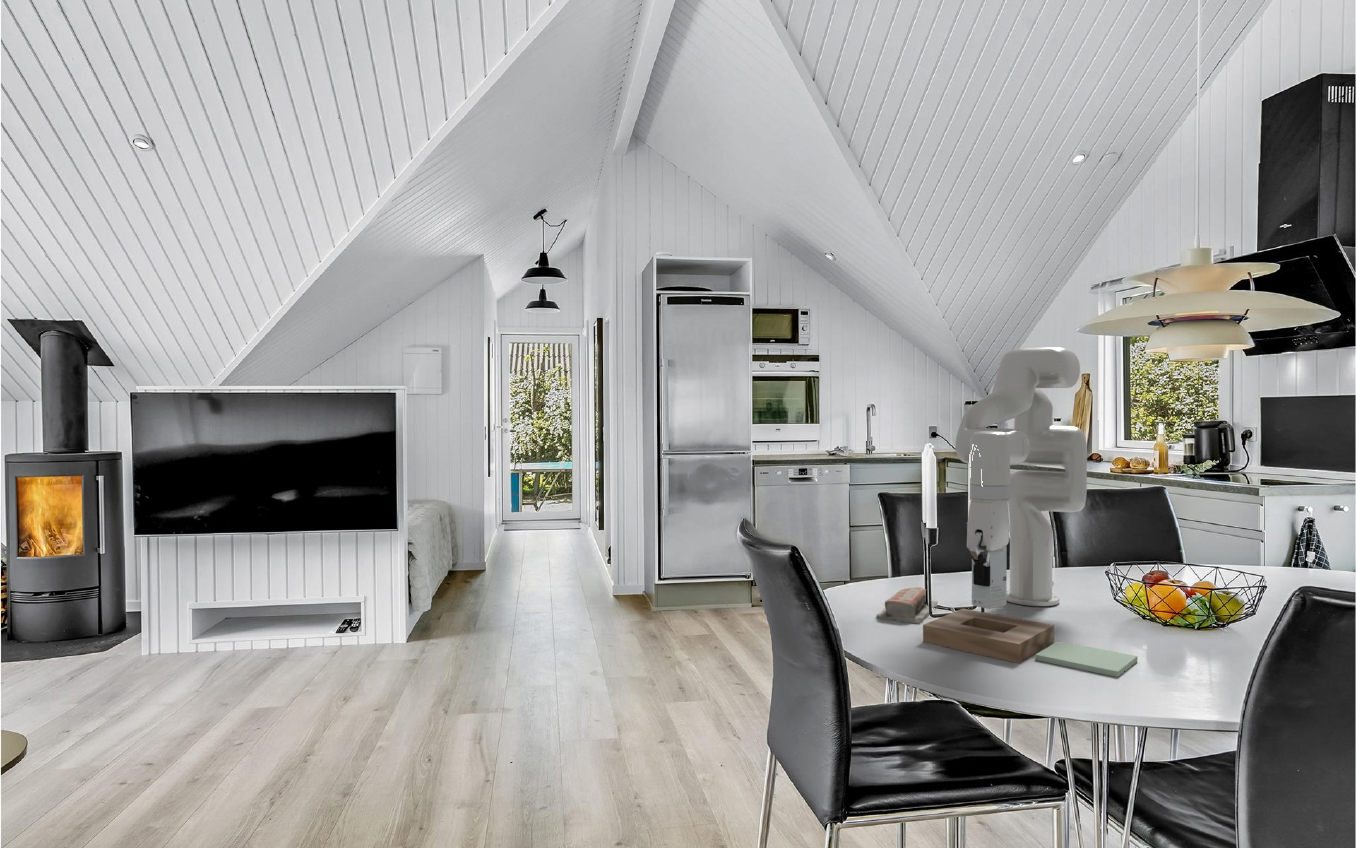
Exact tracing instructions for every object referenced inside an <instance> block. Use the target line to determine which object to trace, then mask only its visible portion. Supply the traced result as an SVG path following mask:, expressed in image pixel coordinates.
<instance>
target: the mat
mask: <svg viewBox="0 0 1356 848" xmlns="http://www.w3.org/2000/svg"><path fill="white" fill-rule="evenodd" d="M1034 655H1035V657H1034V658H1035V661H1039V662H1044V663H1049V664H1055V665H1059V666H1061V667H1062V666H1063V667H1066V668H1067V667H1068V668H1071V669H1077V670H1082V671H1087V672H1092V673H1094V674H1095V673H1097V674H1099V675H1100V674H1101V675H1106V676H1111V677H1114V676H1115V677H1114V678H1119V677H1120V676H1121V675H1123V674H1124V673H1125V672H1126V671H1127V669H1128V670H1129V669H1130V668H1132V667H1133V666H1134V665H1135V664H1137V662H1138V657H1139V656H1138V655H1134V654H1128V653H1122V652H1118V651H1113V650H1108V649H1103V648H1098V647H1097V648H1095V647H1091V646H1087V645H1083V644H1082V645H1081V644H1076V643H1070V642H1066V641H1065V642H1064V641H1060V640H1058V641H1056V642H1054V643H1052V644H1050V645H1049V646H1047V647H1045V648H1044V649H1042V650H1040V651H1039V652H1037V653H1035V654H1034ZM1132 665H1133V666H1132ZM1124 671H1125V672H1124ZM1118 676H1119V677H1118Z"/></svg>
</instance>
